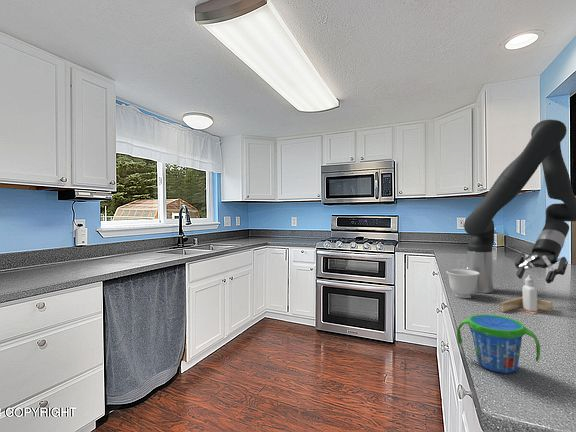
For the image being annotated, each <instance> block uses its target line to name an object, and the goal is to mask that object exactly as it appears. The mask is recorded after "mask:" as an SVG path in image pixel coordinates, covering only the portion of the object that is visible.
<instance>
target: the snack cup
mask: <svg viewBox="0 0 576 432" xmlns="http://www.w3.org/2000/svg"><path fill="white" fill-rule="evenodd" d="M464 324H467V325H468V327H469V329H470V333H471V334H472V335H471V336H472V340H473V345H474V352H475V355H476V359H477V361H478V363H479V364H480V365H481V366H482V367H483V368H485V369H487V370H489V371H492V372H497V373H503V374H510V373H513V372H515V371H518V367H519V360H520V355H521V350H522V349H521V348H522V340H523V339H522V338H523V336H525V335H527V336H529V337H532V338H533V340H534V342H535V347H536V348H535V349H536V356H535V361H536V362H539V359H540V355H541V345H540V341H539V339H538V337H537V336H536V334H535V333H534V332H533V331H531V329H529V328H527V327H525V325H524V324H523V323H522V322H520V321H518V320H516V319H513V318H509V317H506V316H500V315H494V314H475V315H472V316H470V317H469V318H466V319H464V320H462V321H461V322H460V323H459V325H458V327H457V331H456V340H457V343H458V344H459V345H461V344H462V342H463V339H462V334H461V328H462V326H464Z"/></svg>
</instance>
